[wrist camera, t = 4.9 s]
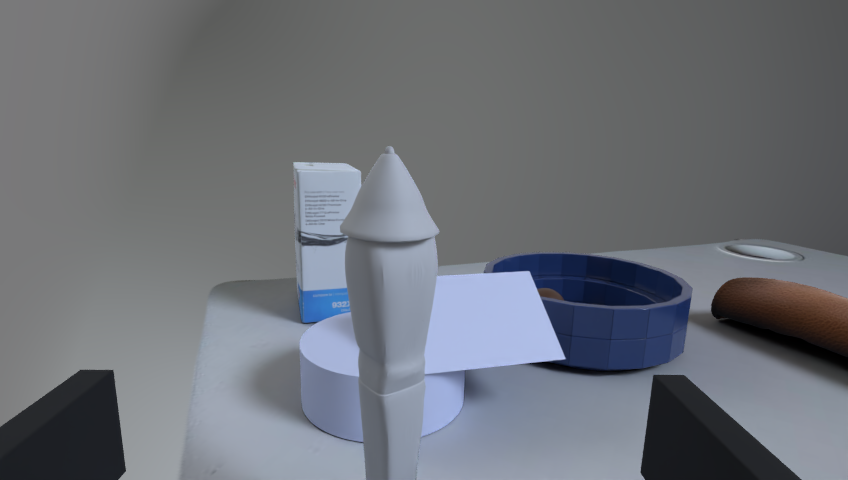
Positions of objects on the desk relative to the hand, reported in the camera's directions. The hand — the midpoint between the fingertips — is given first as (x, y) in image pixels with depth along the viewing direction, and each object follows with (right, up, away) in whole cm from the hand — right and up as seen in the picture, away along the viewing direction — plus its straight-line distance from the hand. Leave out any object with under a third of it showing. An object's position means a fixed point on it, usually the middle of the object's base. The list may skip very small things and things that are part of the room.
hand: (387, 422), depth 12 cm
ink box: (-7, -1, +30) cm, 31 cm away
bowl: (+12, -3, +25) cm, 28 cm away
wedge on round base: (+1, -4, +16) cm, 17 cm away
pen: (0, -7, +4) cm, 8 cm away
